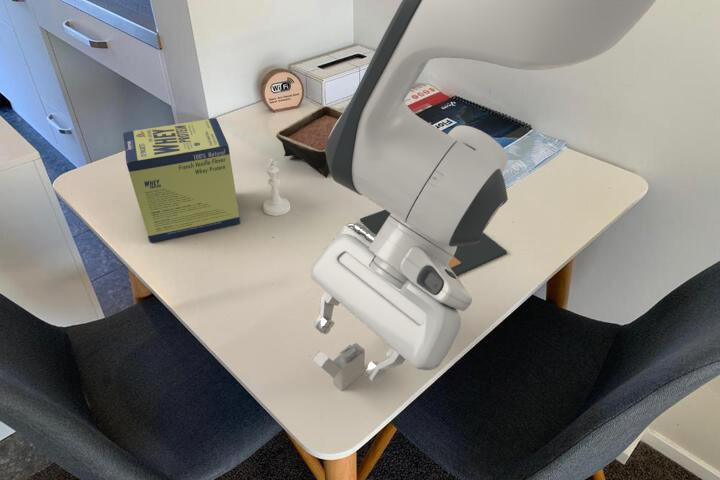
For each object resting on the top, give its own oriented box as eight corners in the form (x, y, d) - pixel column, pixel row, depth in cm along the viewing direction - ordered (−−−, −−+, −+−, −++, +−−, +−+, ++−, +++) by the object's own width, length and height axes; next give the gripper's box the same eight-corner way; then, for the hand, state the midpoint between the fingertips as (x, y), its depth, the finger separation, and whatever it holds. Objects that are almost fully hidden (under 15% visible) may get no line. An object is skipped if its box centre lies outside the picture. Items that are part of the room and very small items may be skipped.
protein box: (242, 223, 91) (229, 144, 81) (149, 244, 86) (123, 162, 76) (230, 192, 99) (217, 116, 89) (143, 210, 94) (119, 131, 84)
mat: (506, 253, 86) (507, 250, 85) (428, 288, 79) (429, 285, 78) (432, 194, 99) (432, 191, 98) (360, 220, 92) (360, 217, 92)
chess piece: (261, 202, 96) (255, 154, 90) (288, 198, 97) (284, 151, 91) (264, 217, 93) (258, 168, 86) (292, 213, 93) (288, 165, 87)
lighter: (355, 364, 68) (355, 322, 63) (365, 371, 67) (366, 330, 62) (314, 397, 64) (311, 355, 59) (324, 406, 63) (321, 364, 58)
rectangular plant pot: (373, 162, 112) (376, 116, 107) (317, 186, 99) (317, 135, 94) (323, 146, 119) (324, 102, 114) (265, 166, 107) (263, 118, 102)
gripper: (336, 209, 65) (277, 301, 66) (464, 298, 53) (389, 409, 54) (362, 223, 70) (307, 309, 71) (484, 308, 58) (416, 409, 59)
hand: (344, 353), depth 62 cm, fingers open, 8 cm apart
